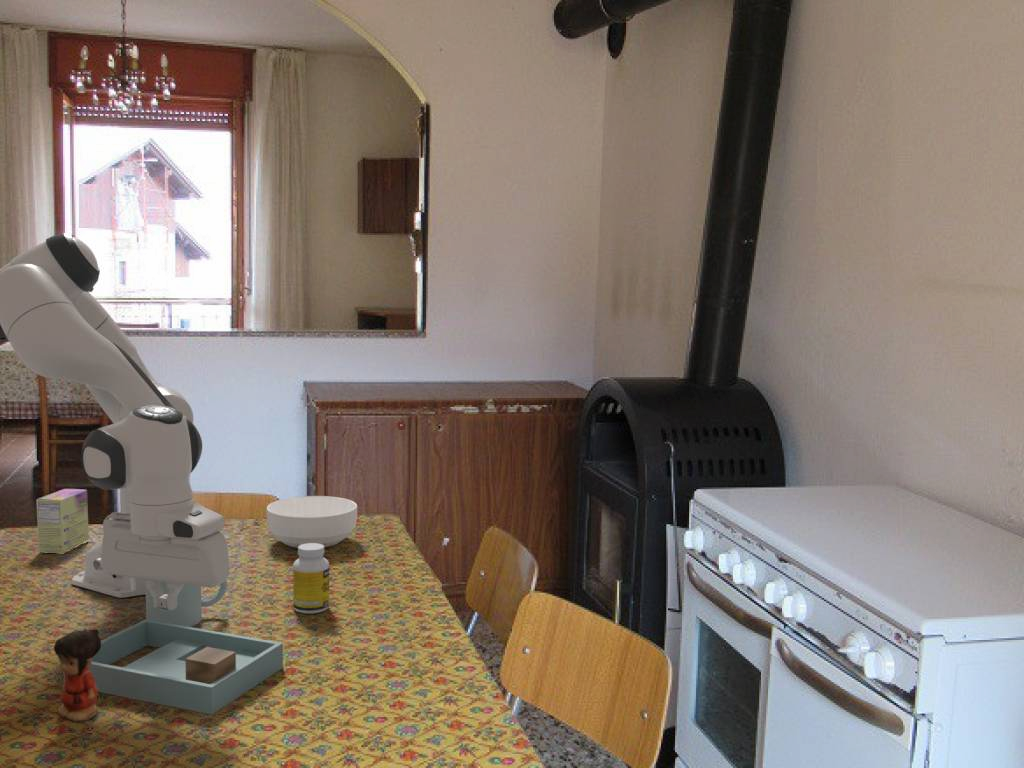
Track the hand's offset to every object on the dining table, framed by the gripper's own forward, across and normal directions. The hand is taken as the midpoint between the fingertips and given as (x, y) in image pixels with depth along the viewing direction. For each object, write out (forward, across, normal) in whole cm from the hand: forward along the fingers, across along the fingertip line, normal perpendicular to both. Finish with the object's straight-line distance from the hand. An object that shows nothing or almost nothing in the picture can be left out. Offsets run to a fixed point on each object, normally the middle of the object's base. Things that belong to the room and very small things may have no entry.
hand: (165, 608), depth 154 cm
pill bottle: (+12, +4, +36) cm, 38 cm away
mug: (+12, -14, +24) cm, 30 cm away
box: (+12, -64, +50) cm, 82 cm away
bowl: (+13, -17, +74) cm, 77 cm away
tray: (+12, 0, +2) cm, 12 cm away
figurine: (+11, -5, -14) cm, 18 cm away
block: (+10, +9, -2) cm, 13 cm away
